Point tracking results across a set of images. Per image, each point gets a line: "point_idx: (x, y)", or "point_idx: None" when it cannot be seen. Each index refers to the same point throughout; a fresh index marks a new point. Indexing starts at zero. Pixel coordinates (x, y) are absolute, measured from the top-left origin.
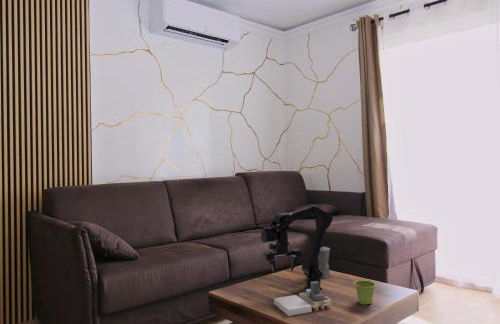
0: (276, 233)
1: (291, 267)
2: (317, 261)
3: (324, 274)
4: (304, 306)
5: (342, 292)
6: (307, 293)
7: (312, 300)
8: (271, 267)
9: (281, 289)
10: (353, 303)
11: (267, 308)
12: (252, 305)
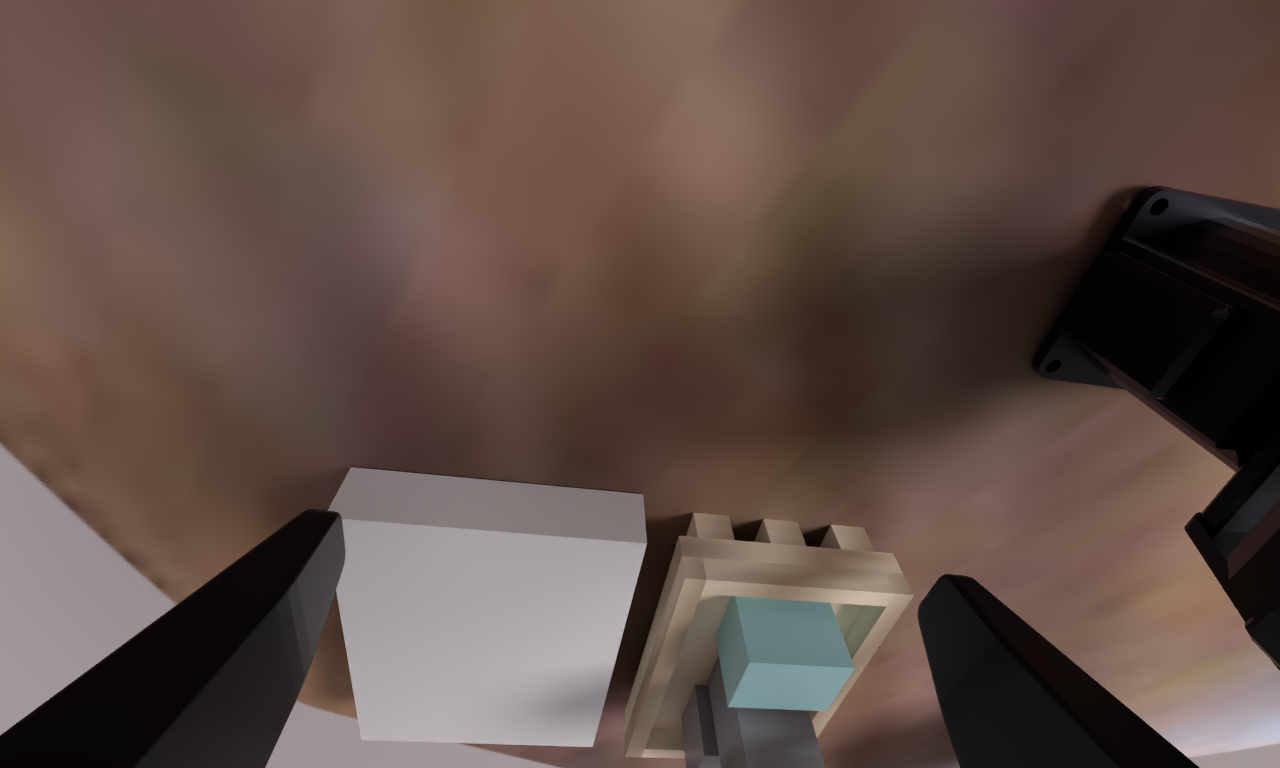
0: None
1: (977, 712)
2: None
3: None
4: (532, 737)
5: None
6: (731, 649)
7: (695, 677)
8: (87, 674)
9: (769, 15)
10: None
11: (229, 526)
12: (31, 387)
